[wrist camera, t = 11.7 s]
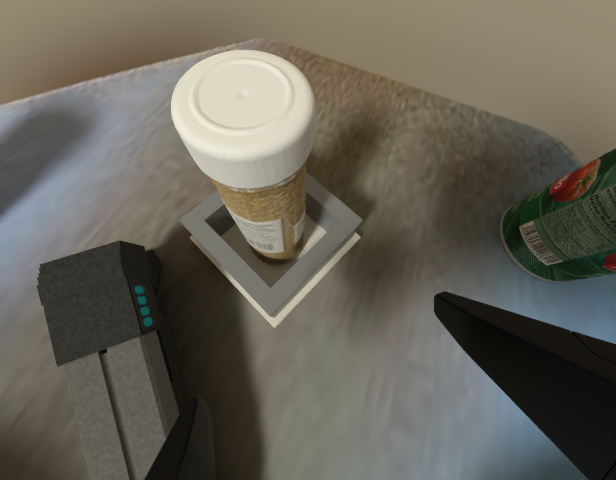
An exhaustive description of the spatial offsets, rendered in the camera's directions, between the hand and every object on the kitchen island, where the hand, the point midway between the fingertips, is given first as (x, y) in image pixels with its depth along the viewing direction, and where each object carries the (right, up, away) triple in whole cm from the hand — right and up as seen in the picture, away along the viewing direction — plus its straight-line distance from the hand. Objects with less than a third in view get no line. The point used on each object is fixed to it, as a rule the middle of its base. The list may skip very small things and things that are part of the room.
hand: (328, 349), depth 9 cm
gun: (-10, -7, +9) cm, 15 cm away
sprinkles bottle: (-3, +4, +12) cm, 13 cm away
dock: (-3, +4, +12) cm, 13 cm away
